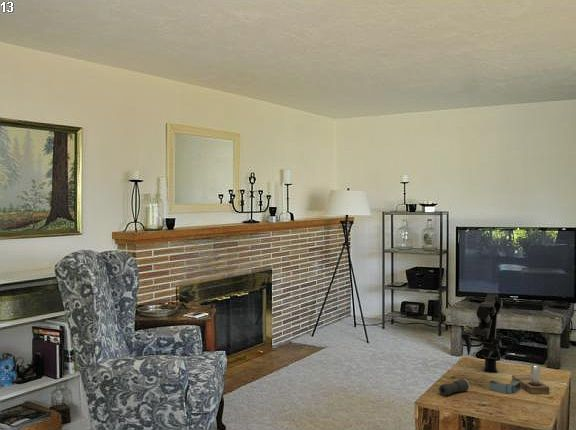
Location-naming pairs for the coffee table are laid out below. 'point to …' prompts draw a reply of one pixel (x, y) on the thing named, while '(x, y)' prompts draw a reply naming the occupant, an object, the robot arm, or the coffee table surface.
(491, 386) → the v block
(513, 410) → the coffee table surface
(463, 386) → the flashlight
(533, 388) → the slotted block
